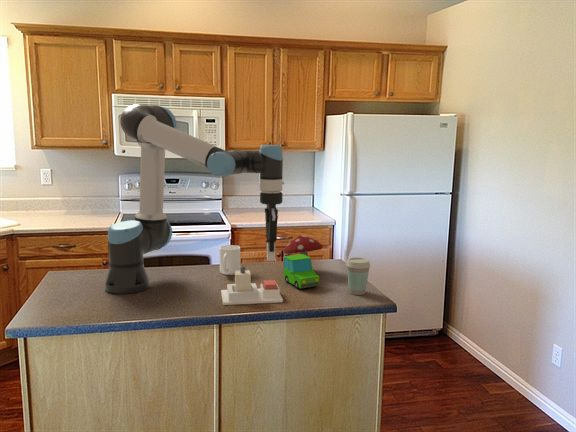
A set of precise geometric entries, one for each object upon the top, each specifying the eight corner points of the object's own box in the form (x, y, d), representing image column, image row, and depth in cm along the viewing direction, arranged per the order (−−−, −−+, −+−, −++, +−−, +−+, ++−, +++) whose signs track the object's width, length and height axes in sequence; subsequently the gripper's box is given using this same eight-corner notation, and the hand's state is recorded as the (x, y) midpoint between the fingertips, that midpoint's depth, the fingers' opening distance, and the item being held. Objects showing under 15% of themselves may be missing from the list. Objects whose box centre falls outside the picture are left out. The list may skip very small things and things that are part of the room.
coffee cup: (370, 290, 179) (372, 258, 177) (366, 297, 171) (368, 264, 169) (347, 287, 181) (349, 256, 179) (342, 294, 173) (343, 261, 171)
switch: (265, 290, 167) (265, 284, 167) (263, 285, 172) (263, 280, 172) (276, 290, 168) (276, 284, 167) (274, 285, 173) (274, 279, 172)
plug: (235, 297, 166) (235, 269, 164) (234, 292, 171) (234, 265, 169) (250, 297, 166) (250, 268, 165) (249, 292, 171) (249, 264, 170)
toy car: (297, 292, 175) (298, 265, 174) (281, 282, 187) (281, 256, 185) (322, 288, 180) (323, 262, 178) (304, 278, 192) (305, 253, 190)
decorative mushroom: (282, 276, 193) (282, 239, 190) (283, 265, 209) (284, 231, 206) (322, 277, 193) (324, 240, 190) (321, 266, 208) (322, 232, 206)
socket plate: (222, 304, 161) (222, 295, 161) (221, 292, 174) (221, 282, 173) (283, 302, 165) (283, 292, 164) (276, 289, 177) (277, 280, 177)
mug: (233, 278, 190) (233, 252, 188) (213, 277, 191) (213, 251, 189) (242, 270, 201) (242, 245, 199) (223, 268, 203) (223, 244, 201)
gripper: (285, 193, 158) (285, 264, 162) (279, 189, 171) (278, 255, 175) (262, 194, 157) (262, 265, 161) (257, 189, 170) (257, 255, 174)
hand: (271, 260), depth 168 cm, fingers closed
